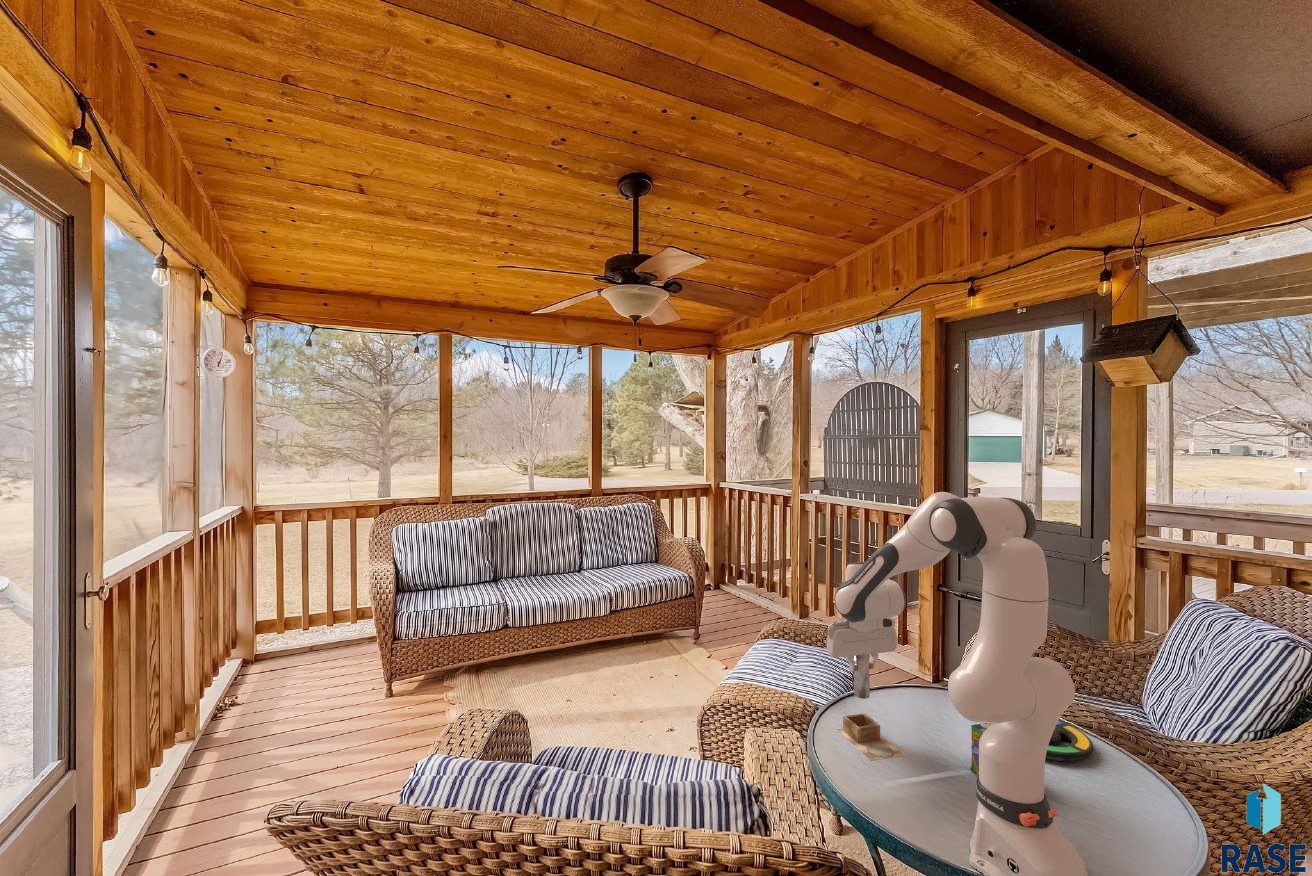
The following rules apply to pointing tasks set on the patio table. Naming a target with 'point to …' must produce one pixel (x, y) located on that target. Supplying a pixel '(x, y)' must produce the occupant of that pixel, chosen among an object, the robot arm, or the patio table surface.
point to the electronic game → (1073, 751)
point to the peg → (862, 676)
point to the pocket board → (867, 737)
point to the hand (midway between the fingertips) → (861, 669)
